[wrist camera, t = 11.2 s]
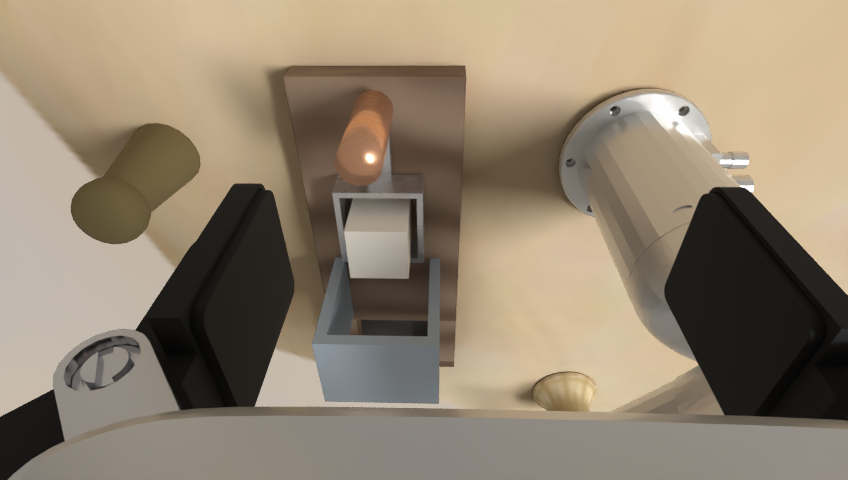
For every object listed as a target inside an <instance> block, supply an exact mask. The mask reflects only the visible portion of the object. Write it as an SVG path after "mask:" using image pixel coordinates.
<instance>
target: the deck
mask: <svg viewBox="0 0 848 480" xmlns="http://www.w3.org/2000/svg"><path fill="white" fill-rule="evenodd" d="M283 79H284V84H285V89H286V95H287V100H288V105H289V110H290V115H291V121H292V126H293V131H294V136H295V142H296V147H297V152H298V157H299V163H300V168H301V173H302V178H303V183H304V189H305V194H306V199H307V204H308V210H309V215H310V220H311V225H312V231H313V236H314V241H315V246H316V252H317V257H318V262H319V267H320V272H321V278H322V283H323V288H324V293H325V294H326V290H327V287H328V283H329V279H330V276H331V272H332V268H333V265H334V261H335V257H342V255H341V249H340V242H339V236H338V229H337V222H336V216H335V209H334V202H333V196H332V192H333V189H334V186H335V183H336V180H337V177H338V173H337V171H336V169H335V157H336V154H337V151H338V149H339V146H340V143H341V140H342V138H343V135H344V132H345V129H346V127H347V124H348V121H349V119H350V116H351V113H352V110H353V108H354V105H355V102H356V100H357V98H358V97H359V96H360V95H361V94H362V93H364V92H366V91H370V90H375V91H379V92H382V93H384V94H385V95H387V96H388V97H389V99H390V100H391V102H392V104H393V108H394V113H393V118H392V124H391V129H390V140H391V158H392V175H424V231H425V245H424V263H410V268H409V279H388V278H350V271H349V264H348V262H346V264H347V271H348V278H349V285H350V292H351V299H352V306H353V313H354V314H353V319H352V324H351V329H350V334H349V335H367V336H427V335H428V305H429V274H430V258H440V348H439V366H440V367H454V349H455V326H456V303H457V279H458V256H459V233H460V210H461V187H462V163H463V140H464V117H465V94H466V70H465V66H291V67H290V68H289V70H288V71H287V72H286V74H285V75H284V76H283ZM352 200H353V198H347V201H348V208H349V211H350V207H351V204H352ZM411 217H412V238H418V236H417V199H411Z"/></svg>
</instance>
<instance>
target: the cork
mask: <svg viewBox="0 0 848 480" xmlns="http://www.w3.org/2000/svg"><path fill="white" fill-rule="evenodd" d="M199 168H200V156H199V154H198V151H197V149H196V147H195V146H194V144H193V143H192V142H191V141H190V139H189V138H188V137H186V136H185V135H184V134H183V133H181V132H180V131H179V130H176V129H174V128H172V127H170V126H167V125H163V124H158V123H156V124H147V125H145V126H143V127H140V128H139V129H138V130H137V131H136V133H135V134H134V135H133V136H132V138H131V139H130V141H129V142H128V143H127V145H126V146H125V147H124V149H123V150H122V152H121V153H120V154H119V156H118V157H117V158H116V160H115V161H114V163H113V164H112V165H111V167H110V168H109V169H108V171H107V172H106V174H105V175H104V176H103V178H98V179H95V180H93V181H91V182H88V183H87V184H84V185H83V186H82V187H81V188H80V189H79V190H78V191H77V192H76V193H75V195H74V197H73V199H72V203H71V213H72V217H73V220H74V221H75V223H76V224H77V226H78V227H79V228H80V229H81V230H82V231H83V232H85V233H86V234H87V235H89V236H90V237H92V238H94V239H96V240H99V241H101V242H104V243H109V244H121V243H127V242H129V241H132V240H134V239H136V238H137V237H139V236H140V235H141V234H142V233H143V232H144V230H145V229H146V228H147V226H148V223H149V220H150V217H151V212H152V211H153V210H155V209H156V208H157V207H158V206H159V205H161V204H162V203H163V202H164V201H166V200H167V199H168V198H169V197H170V196H172V195H173V194H174V193H175V192H177V191H178V190H179V189H180V188H181V187H183V186H184V185H185V184H186V183H188V182H189V181H190V180H191V179H192V178H193V177H194V176H195V175H196V174H197V173H198V171H199Z"/></svg>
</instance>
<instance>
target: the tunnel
mask: <svg viewBox="0 0 848 480" xmlns="http://www.w3.org/2000/svg"><path fill="white" fill-rule="evenodd" d="M353 314H354V313H353V306H352V299H351V292H350V285H349V278H348V271H347V264H346V262H342V257H335V261H334V265H333V268H332V272H331V276H330V279H329V283H328V287H327V290H326V294H325V298H324V301H323V305H322V309H321V312H320V316H319V320H318V323H317V327H316V331H315V334H314V338H313V342H312V347H313V351H314V356H315V360H316V364H317V368H318V373H319V377H320V381H321V385H322V389H323V394H324V398H325V401H334V402H335V401H336V402H381V403H385V402H386V403H429V404H430V403H431V404H438V403H439V348H440V258H430V274H429V305H428V335H427V336H367V335H349V334H350V329H351V324H352V319H353Z"/></svg>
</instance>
